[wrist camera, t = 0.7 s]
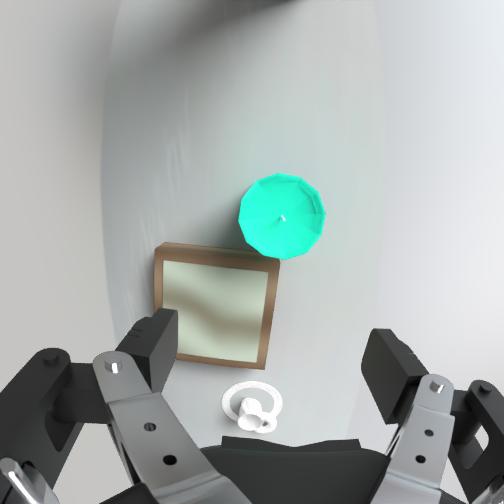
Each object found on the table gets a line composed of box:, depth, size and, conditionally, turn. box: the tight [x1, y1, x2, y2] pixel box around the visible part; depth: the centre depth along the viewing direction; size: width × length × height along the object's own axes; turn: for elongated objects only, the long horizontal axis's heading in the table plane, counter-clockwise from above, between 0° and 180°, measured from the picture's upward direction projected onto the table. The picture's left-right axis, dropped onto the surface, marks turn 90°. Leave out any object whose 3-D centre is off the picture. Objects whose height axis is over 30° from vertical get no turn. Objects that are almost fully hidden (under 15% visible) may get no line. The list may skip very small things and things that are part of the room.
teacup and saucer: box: [221, 381, 282, 434], centre depth 35 cm, size 9×8×4 cm
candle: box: [238, 173, 326, 260], centre depth 25 cm, size 6×6×12 cm
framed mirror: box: [154, 242, 280, 370], centre depth 32 cm, size 12×12×4 cm
